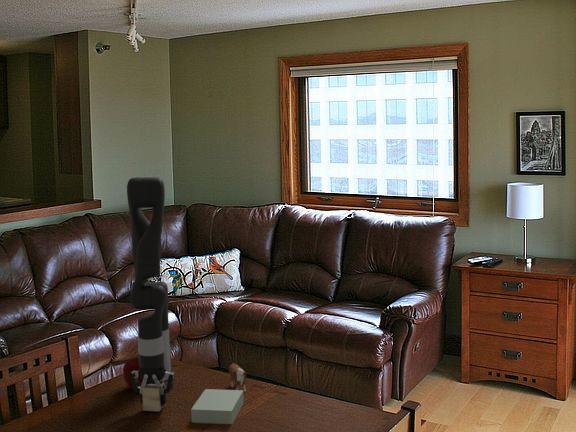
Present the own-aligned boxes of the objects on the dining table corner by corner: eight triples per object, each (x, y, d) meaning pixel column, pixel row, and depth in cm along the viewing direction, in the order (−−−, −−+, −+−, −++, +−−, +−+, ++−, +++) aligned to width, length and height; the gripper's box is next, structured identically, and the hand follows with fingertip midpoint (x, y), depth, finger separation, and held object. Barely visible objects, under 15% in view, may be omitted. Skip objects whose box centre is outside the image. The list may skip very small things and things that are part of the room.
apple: (144, 395, 235) (143, 364, 234) (118, 392, 238) (116, 362, 237) (158, 384, 244) (157, 355, 243) (133, 382, 247) (131, 353, 246)
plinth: (205, 401, 229) (205, 389, 228) (243, 402, 227) (243, 390, 226) (191, 422, 213) (191, 409, 212) (232, 424, 211) (231, 410, 211)
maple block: (148, 404, 226) (147, 382, 225) (164, 404, 225) (163, 382, 224) (143, 410, 221) (142, 388, 220) (159, 411, 220) (158, 389, 219)
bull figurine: (236, 397, 231) (235, 372, 230) (228, 383, 244) (227, 359, 243) (249, 396, 232) (249, 371, 231) (240, 381, 245) (240, 358, 244)
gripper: (177, 347, 223) (180, 401, 225) (132, 346, 225) (135, 399, 227) (170, 355, 216) (172, 410, 218) (123, 354, 218) (126, 409, 220)
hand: (153, 404), depth 223 cm, fingers closed on maple block, 5 cm apart
